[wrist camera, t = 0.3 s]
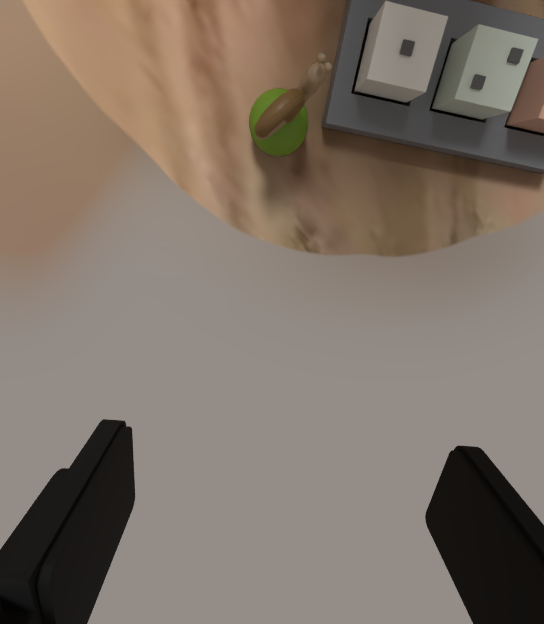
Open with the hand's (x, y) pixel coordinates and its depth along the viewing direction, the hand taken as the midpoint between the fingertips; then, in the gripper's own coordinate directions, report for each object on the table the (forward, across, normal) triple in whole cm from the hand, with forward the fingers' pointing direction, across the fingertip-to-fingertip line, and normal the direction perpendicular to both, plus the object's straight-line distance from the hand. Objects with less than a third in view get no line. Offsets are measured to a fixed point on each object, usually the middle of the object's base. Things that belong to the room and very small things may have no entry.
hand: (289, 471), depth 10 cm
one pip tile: (+28, -8, -19) cm, 35 cm away
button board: (+30, -16, -18) cm, 39 cm away
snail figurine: (+31, 0, -13) cm, 33 cm away
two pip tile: (+28, -16, -18) cm, 37 cm away
